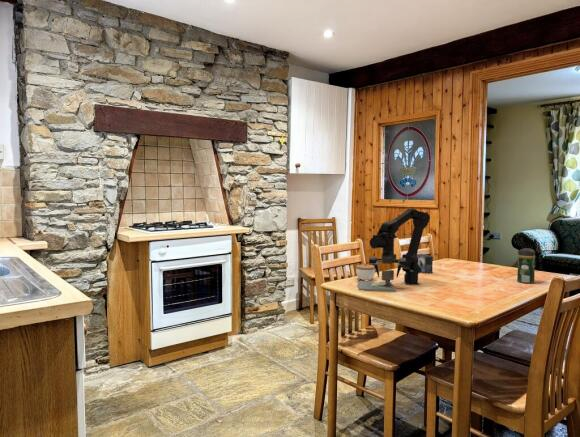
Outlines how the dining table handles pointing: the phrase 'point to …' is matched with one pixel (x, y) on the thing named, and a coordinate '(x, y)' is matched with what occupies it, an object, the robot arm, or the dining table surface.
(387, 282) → the peg knob
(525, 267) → the coffee jar
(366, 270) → the lidded jar
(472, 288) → the dining table surface
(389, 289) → the tuner board
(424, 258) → the small box
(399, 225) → the robot arm
